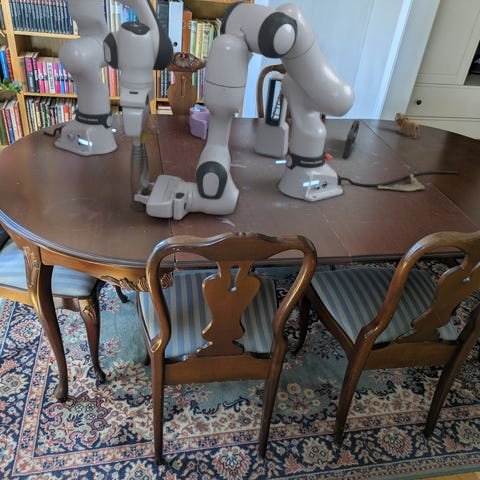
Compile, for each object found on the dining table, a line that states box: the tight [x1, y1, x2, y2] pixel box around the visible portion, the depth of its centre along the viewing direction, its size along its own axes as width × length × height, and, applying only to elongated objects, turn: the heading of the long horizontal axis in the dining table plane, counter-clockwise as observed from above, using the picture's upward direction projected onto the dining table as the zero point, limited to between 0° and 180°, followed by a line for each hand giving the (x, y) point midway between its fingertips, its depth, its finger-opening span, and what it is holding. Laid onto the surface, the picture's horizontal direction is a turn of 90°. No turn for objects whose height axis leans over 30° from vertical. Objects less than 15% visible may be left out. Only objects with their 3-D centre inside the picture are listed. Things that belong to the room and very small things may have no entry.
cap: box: [129, 130, 148, 144], centre depth 129 cm, size 5×5×2 cm
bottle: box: [129, 142, 150, 212], centre depth 135 cm, size 5×5×22 cm
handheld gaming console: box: [342, 119, 361, 159], centre depth 194 cm, size 23×3×10 cm, turn 161°
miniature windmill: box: [271, 64, 290, 126], centre depth 207 cm, size 9×8×30 cm
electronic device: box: [252, 73, 290, 160], centre depth 177 cm, size 12×8×30 cm, turn 71°
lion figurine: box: [394, 112, 422, 139], centre depth 219 cm, size 15×5×9 cm, turn 50°
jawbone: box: [376, 173, 426, 193], centre depth 169 cm, size 9×20×2 cm, turn 126°
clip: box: [188, 106, 210, 140], centre depth 199 cm, size 20×12×7 cm, turn 23°
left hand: (138, 141), depth 129 cm, fingers closed on cap, 4 cm apart
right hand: (137, 191), depth 138 cm, fingers closed on bottle, 5 cm apart
